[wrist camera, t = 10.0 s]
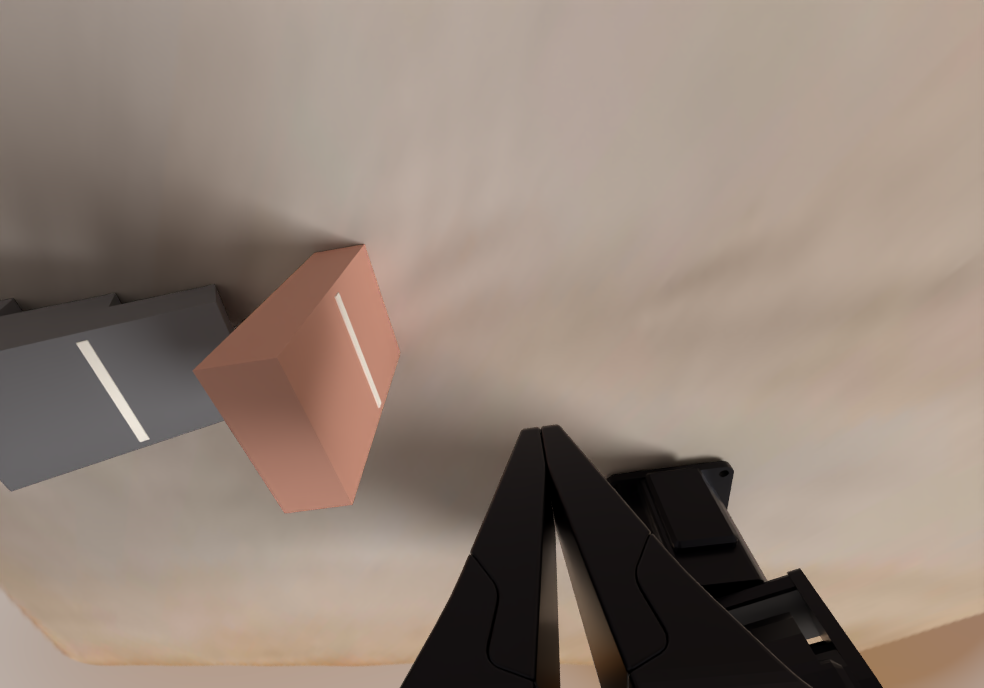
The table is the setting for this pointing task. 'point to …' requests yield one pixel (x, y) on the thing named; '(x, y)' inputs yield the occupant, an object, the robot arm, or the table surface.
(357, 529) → the table surface
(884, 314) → the table surface
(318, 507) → the domino
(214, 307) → the domino
